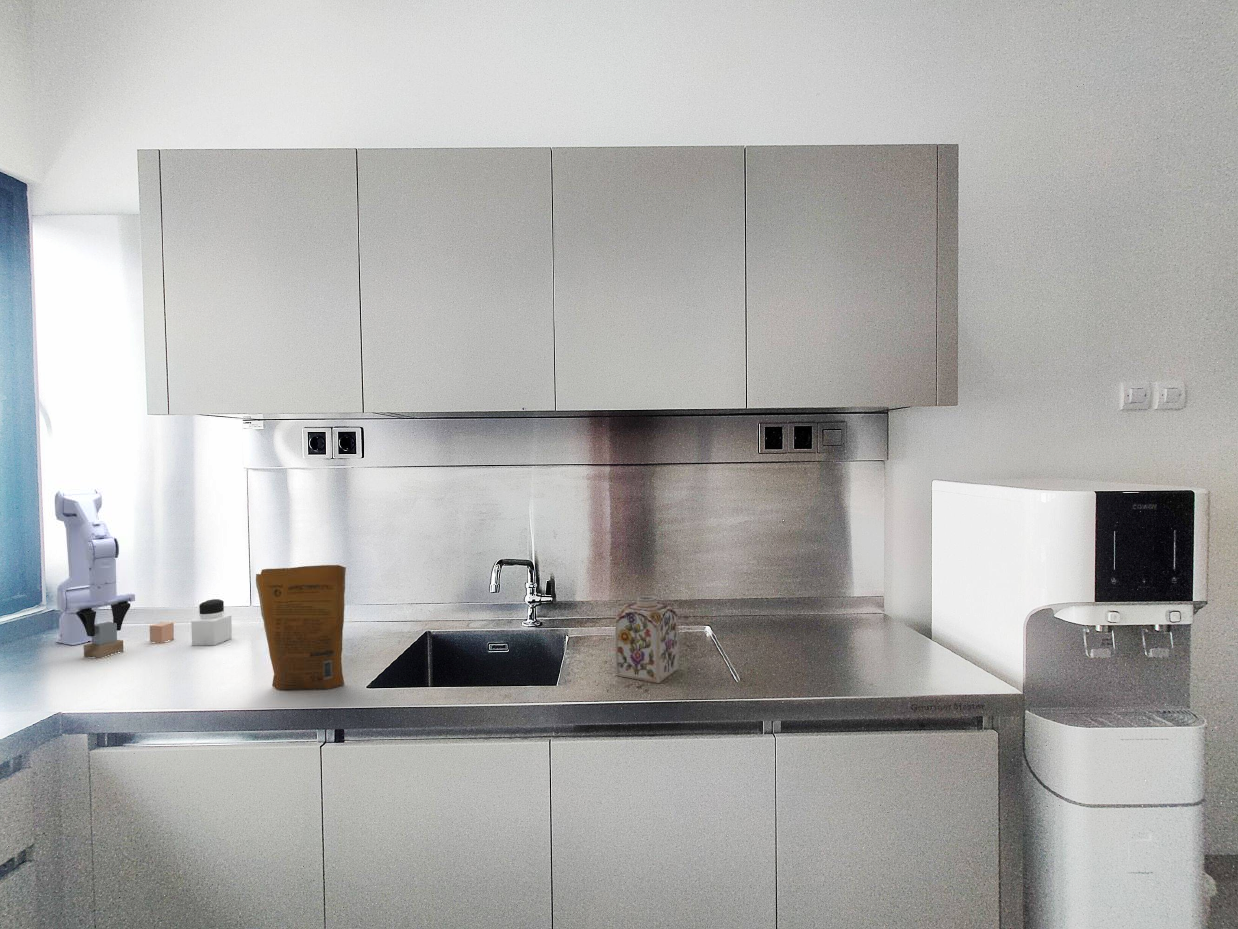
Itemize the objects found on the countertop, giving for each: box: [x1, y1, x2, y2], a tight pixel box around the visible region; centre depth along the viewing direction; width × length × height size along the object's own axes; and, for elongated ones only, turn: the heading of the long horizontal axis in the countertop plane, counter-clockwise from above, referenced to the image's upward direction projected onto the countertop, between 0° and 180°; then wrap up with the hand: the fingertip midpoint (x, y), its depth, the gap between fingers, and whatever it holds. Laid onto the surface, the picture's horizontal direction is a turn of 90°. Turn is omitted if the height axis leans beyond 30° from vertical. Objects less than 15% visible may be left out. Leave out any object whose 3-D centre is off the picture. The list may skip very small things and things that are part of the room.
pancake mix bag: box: [255, 564, 347, 691], centre depth 146 cm, size 7×19×28 cm, turn 91°
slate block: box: [91, 621, 118, 645], centre depth 174 cm, size 4×4×5 cm
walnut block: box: [83, 639, 124, 659], centre depth 174 cm, size 6×6×4 cm
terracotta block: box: [149, 621, 175, 644], centre depth 187 cm, size 4×4×5 cm
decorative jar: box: [614, 595, 680, 684], centre depth 153 cm, size 12×12×18 cm
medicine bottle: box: [190, 598, 233, 646], centre depth 185 cm, size 7×7×12 cm
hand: (104, 633), depth 174 cm, fingers open, 6 cm apart
